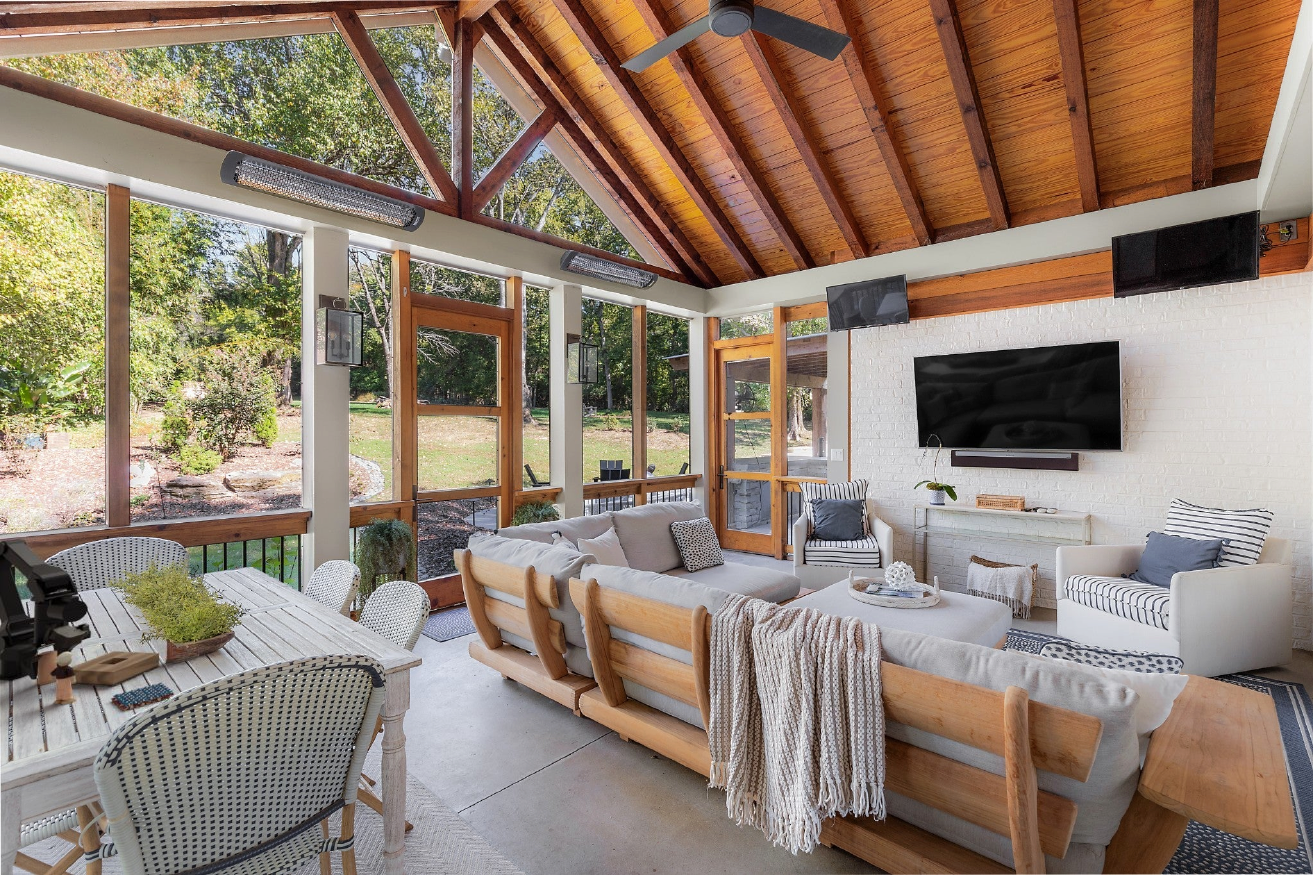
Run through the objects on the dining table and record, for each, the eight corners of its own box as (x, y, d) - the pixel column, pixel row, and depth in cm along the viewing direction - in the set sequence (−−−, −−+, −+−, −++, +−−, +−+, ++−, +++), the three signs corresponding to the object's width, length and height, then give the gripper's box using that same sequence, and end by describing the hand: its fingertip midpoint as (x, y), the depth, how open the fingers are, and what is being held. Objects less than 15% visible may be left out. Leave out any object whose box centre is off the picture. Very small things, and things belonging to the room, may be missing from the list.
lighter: (197, 654, 184) (198, 622, 184) (200, 657, 182) (201, 625, 182) (164, 661, 178) (165, 628, 178) (167, 664, 176) (168, 631, 176)
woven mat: (109, 702, 152) (109, 694, 152) (160, 688, 161) (161, 681, 161) (122, 714, 146) (122, 705, 146) (175, 699, 155) (175, 691, 155)
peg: (33, 684, 160) (34, 654, 160) (47, 678, 164) (48, 650, 164) (46, 684, 160) (47, 655, 160) (60, 679, 163) (61, 650, 163)
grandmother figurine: (85, 698, 153) (87, 649, 153) (71, 705, 149) (72, 655, 149) (55, 697, 152) (56, 649, 152) (39, 704, 149) (41, 654, 149)
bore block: (64, 684, 160) (64, 669, 160) (113, 664, 174) (113, 651, 174) (113, 686, 160) (113, 671, 160) (158, 666, 174) (159, 653, 174)
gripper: (40, 630, 152) (38, 690, 152) (110, 609, 171) (108, 662, 171) (-1, 628, 153) (-3, 688, 153) (73, 607, 171) (71, 661, 171)
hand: (47, 674), depth 162 cm, fingers open, 6 cm apart
